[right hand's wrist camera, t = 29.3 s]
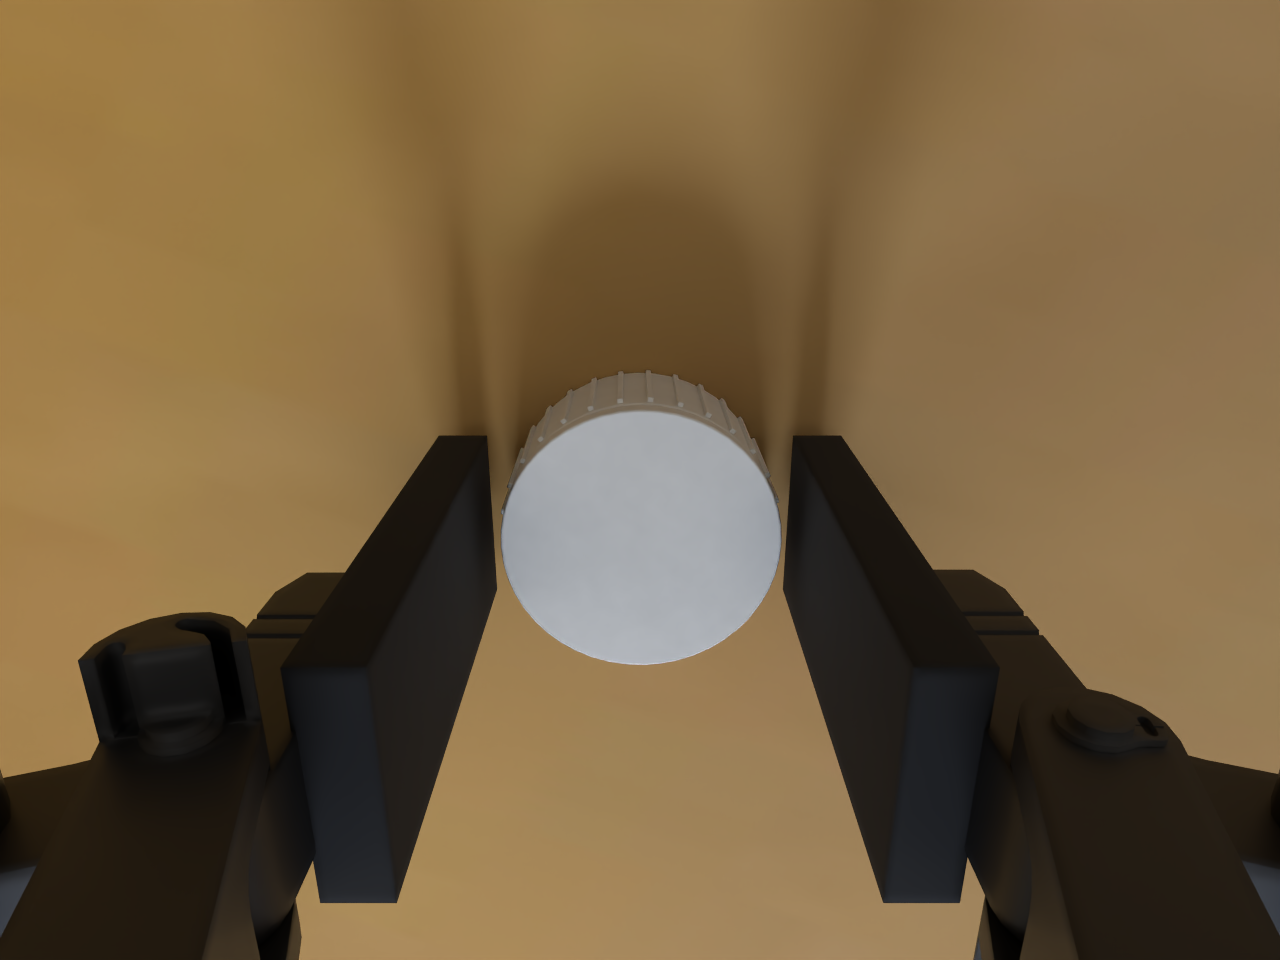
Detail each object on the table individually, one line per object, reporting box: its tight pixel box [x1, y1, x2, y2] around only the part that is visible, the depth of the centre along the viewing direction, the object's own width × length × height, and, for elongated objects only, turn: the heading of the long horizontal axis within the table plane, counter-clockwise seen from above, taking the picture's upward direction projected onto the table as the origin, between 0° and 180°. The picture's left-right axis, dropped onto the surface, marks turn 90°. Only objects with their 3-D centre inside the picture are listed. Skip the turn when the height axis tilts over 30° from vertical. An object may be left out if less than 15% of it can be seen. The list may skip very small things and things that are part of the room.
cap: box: [501, 370, 781, 665], centre depth 14 cm, size 4×4×2 cm
